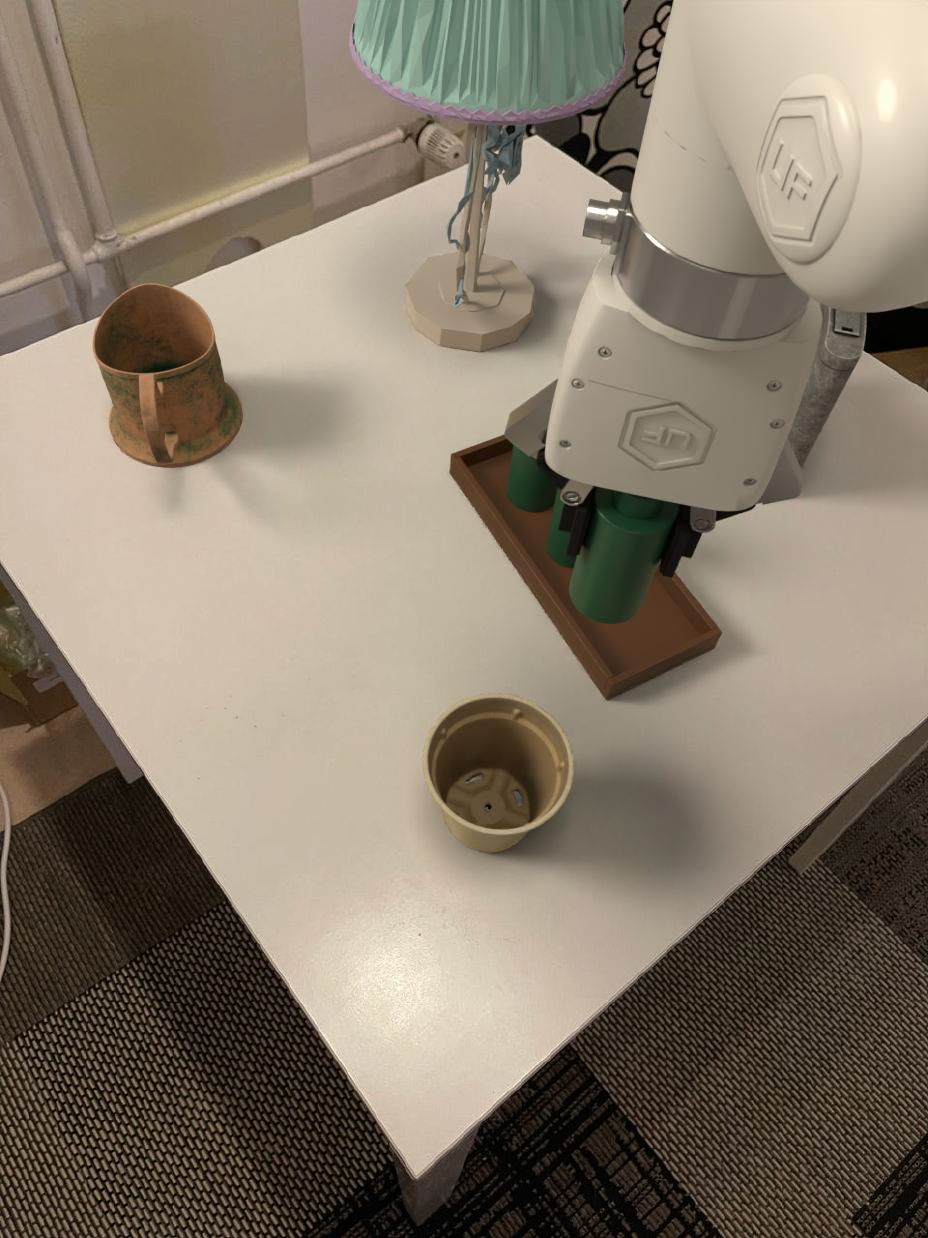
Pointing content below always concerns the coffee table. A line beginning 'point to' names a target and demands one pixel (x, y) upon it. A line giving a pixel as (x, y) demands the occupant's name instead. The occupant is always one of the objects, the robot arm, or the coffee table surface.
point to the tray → (606, 651)
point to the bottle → (620, 554)
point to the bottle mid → (558, 537)
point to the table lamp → (486, 125)
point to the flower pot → (497, 769)
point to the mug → (164, 378)
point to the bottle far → (529, 484)
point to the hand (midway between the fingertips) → (622, 543)
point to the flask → (827, 375)
